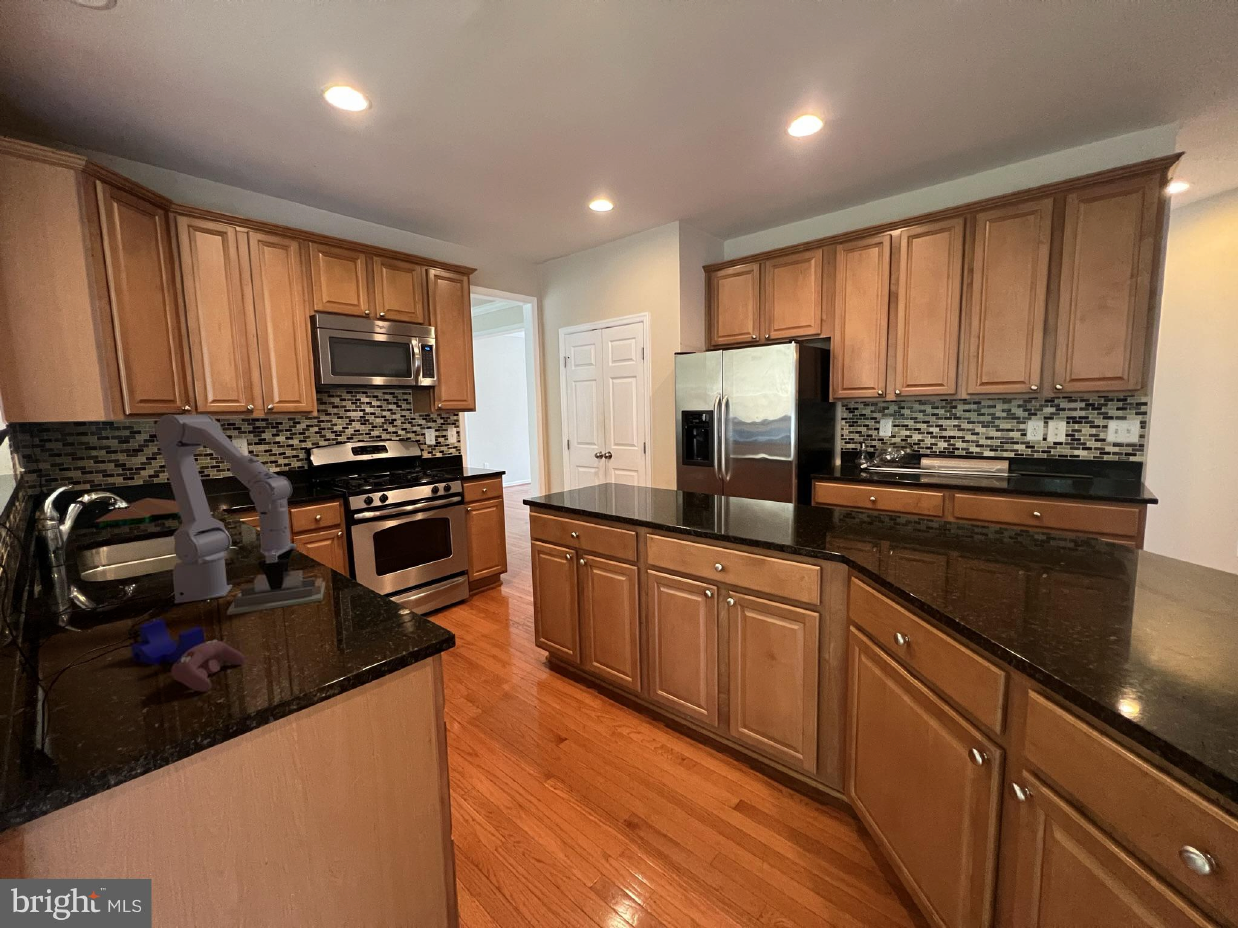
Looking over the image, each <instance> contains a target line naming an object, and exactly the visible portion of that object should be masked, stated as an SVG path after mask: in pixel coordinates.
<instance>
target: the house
mask: <svg viewBox="0 0 1238 928" xmlns="http://www.w3.org/2000/svg"><path fill="white" fill-rule="evenodd" d="M128 504H129V506H130V507H129V508H127V509H118V508H119V507H117V508H115V509H113V510H111V511H110V512H108V513H107V514H105V515H103V516H101V517H99V518H98V519H96V520H95V521H94V522H95V523H96V522H98V527H99V529H100V528H103V527H104V526H106V525H108V526H109V525H111V526H112V525H114V526H116V525H115V524H117V527H118V525H119V527H121V526H122V525H125V526H128V525H129V524H131V523H132V525H133V523H135V525H136V522H137V523H138V520H135V519H139V520H142V521H143V522H145V524H148V523H149V522H151V521H152V520H153V518H154V517H156V516H157V518H159V516H158V515H164V516H165V517H164V518H166V516H169V515H170V517H171V516H172V514H174V515H177V517H179V516H181V515H180V512H179V509H178V505H177V502H176V500H168V499H160V498H149V497H146V498H143V499H140V500H138V501H135V502H132V503H128ZM153 515H154V517H153ZM113 521H117V522H113Z"/></svg>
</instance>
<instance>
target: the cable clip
mask: <svg viewBox="0 0 1238 928" xmlns="http://www.w3.org/2000/svg"><path fill="white" fill-rule="evenodd" d="M138 627H139V634H140V641H138V642H136V643H133V644H131V645H130V649H131V656H132V657H131V658H132V661H136V662H140V663H143V664H149V665H153V666H156V665H158V664H160V663H163V662H168V663H172V664H175V663H176V662H177V661H178V660H179V659H180V658H181V656H182V655H183V654H185V653H186V652H187V651H188V650H190V649H191V648H193V647H195V646H197V645H199V644H202V643H205V635H204V634H205V633H204V628H203V627H200V626H196V627H194V628H191V629H188V630H185V631H183V632H180V633H178V640H177V641H178V643H176V642H175V641H174V640H173V639H172V638H171V636H170V634H169V633H168V629H167V627H166V623H165V620H163V619H156V620H153V621H150V622H147V623H144V624H141V625H139V626H138Z"/></svg>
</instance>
